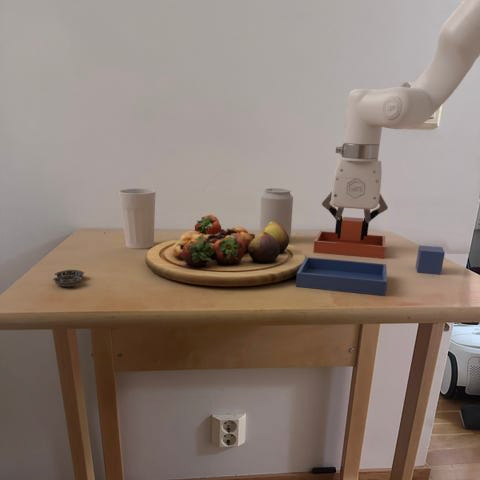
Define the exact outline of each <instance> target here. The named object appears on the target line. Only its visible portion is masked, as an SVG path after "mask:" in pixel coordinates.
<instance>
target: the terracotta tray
mask: <svg viewBox="0 0 480 480" xmlns="http://www.w3.org/2000/svg"><path fill="white" fill-rule="evenodd" d="M337 237H338V234H335V231H328V230H327V231H326V230H319V232H318V234H317V236H316V237H315V239H314V241H313V251H312V252H313V253H317V254H328V255H330V254H331V255H341V256H351V257H352V256H353V257H364V258H375V259H385V254H386V248H387V247H386V245H387V244H386V235H379V234H378V235H377V234H367V236H364V240H360V241H348V240H340V238H337Z"/></svg>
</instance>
